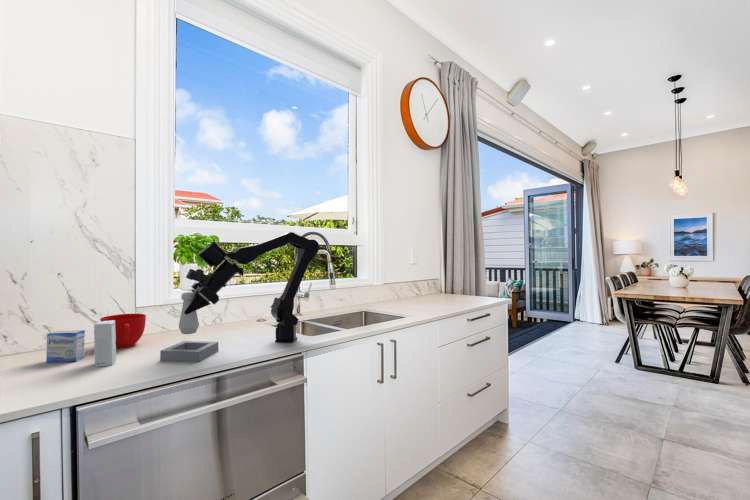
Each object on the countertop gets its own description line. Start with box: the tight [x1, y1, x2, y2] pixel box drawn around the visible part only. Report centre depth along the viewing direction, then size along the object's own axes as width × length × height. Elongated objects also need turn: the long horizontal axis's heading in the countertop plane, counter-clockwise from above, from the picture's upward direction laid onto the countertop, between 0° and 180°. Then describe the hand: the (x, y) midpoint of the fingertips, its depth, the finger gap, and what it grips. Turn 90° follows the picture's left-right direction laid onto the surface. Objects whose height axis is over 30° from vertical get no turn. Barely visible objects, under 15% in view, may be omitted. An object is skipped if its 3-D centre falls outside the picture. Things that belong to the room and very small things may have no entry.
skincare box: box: [93, 320, 117, 368], centre depth 109 cm, size 6×4×12 cm
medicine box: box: [45, 329, 86, 364], centre depth 112 cm, size 8×4×9 cm, turn 101°
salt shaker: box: [178, 291, 200, 335], centre depth 120 cm, size 6×6×13 cm
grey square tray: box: [159, 340, 219, 363], centre depth 117 cm, size 12×12×3 cm
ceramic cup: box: [100, 313, 147, 349], centre depth 127 cm, size 13×17×10 cm
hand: (184, 312), depth 119 cm, fingers closed on salt shaker, 3 cm apart
